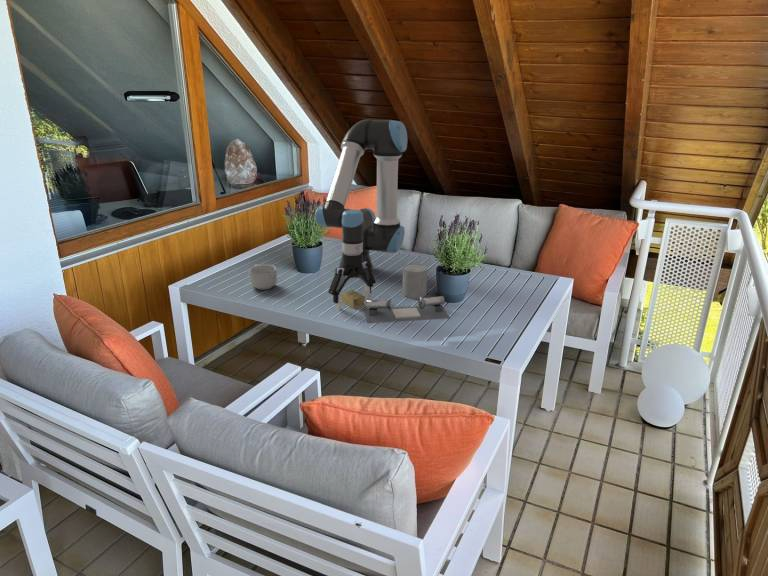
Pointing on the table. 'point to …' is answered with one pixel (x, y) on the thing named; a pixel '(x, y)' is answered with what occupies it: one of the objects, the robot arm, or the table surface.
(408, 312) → the off-white flat plate
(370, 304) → the shaft
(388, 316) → the board
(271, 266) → the teacup
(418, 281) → the speckled tin can
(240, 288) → the table surface
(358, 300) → the coupler
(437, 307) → the shaft
